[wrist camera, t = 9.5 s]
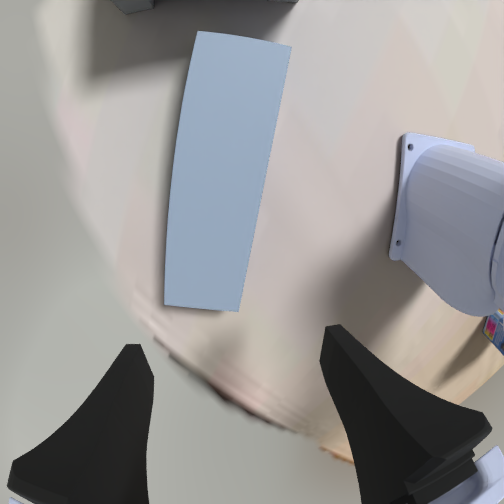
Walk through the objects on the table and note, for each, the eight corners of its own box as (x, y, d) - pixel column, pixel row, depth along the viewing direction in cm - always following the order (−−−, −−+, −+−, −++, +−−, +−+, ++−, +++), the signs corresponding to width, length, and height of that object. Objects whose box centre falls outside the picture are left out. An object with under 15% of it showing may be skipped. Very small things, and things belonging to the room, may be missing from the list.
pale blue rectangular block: (234, 284, 20) (238, 311, 17) (170, 278, 19) (164, 304, 16) (278, 58, 13) (291, 46, 11) (200, 46, 12) (197, 30, 10)
